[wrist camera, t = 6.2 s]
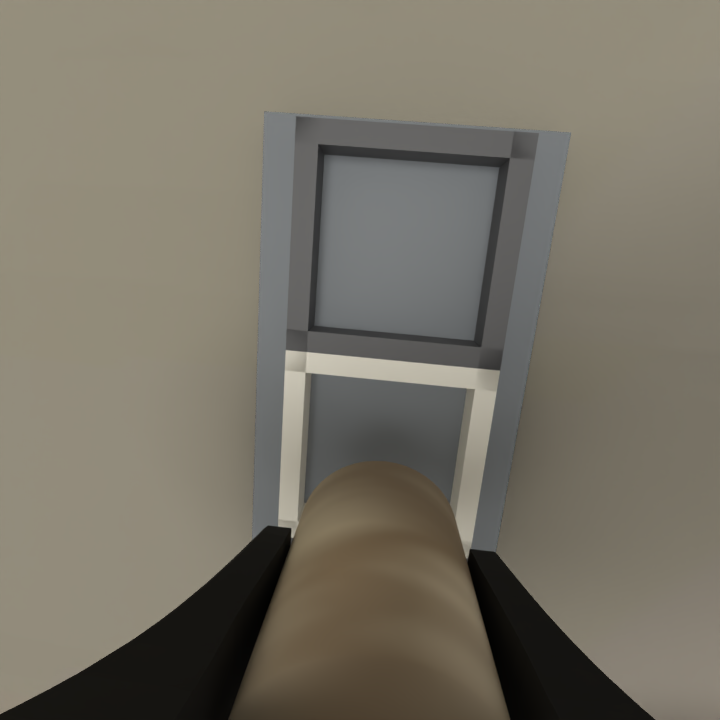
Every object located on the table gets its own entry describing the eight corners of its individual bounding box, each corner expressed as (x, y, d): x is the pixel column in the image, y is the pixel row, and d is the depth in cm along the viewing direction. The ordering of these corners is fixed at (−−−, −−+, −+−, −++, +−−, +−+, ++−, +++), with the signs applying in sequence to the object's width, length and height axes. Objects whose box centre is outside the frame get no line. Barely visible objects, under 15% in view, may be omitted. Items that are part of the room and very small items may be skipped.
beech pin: (467, 470, 11) (552, 679, 6) (445, 610, 12) (498, 918, 6) (305, 452, 12) (221, 635, 6) (295, 591, 12) (213, 871, 7)
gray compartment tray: (557, 142, 16) (589, 119, 14) (465, 670, 22) (476, 723, 19) (273, 122, 17) (252, 96, 14) (255, 643, 22) (238, 691, 20)
